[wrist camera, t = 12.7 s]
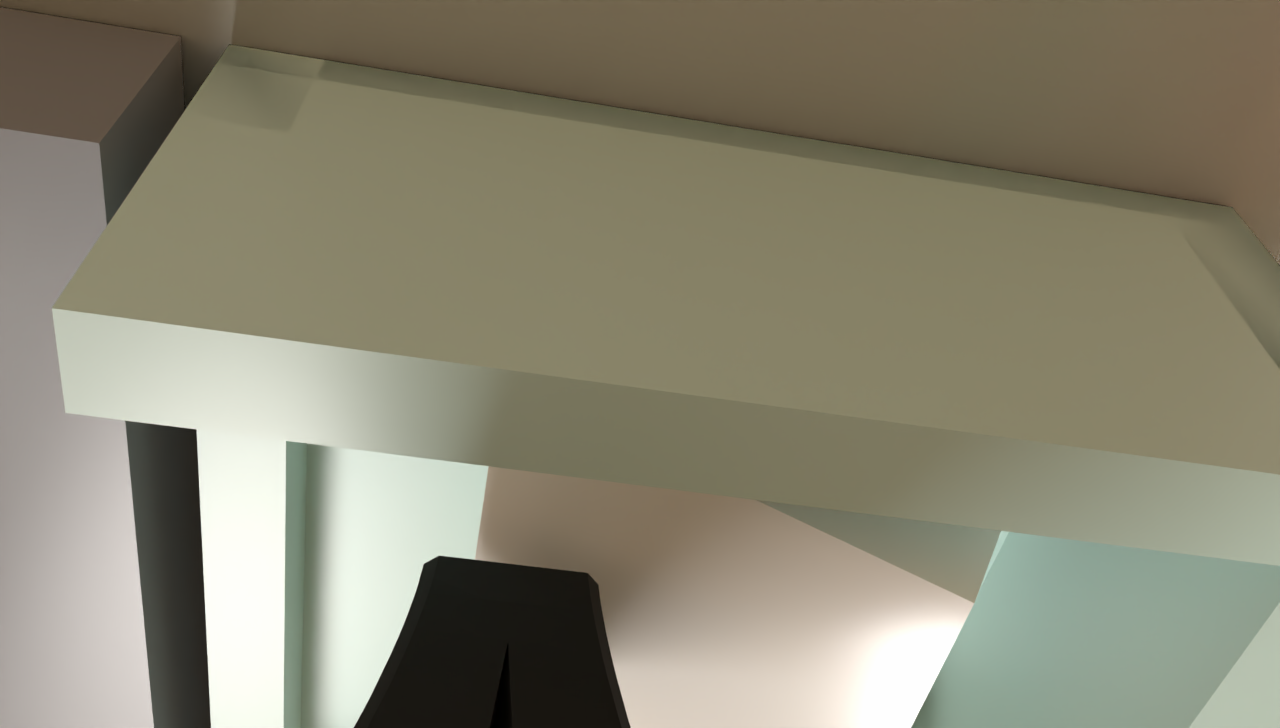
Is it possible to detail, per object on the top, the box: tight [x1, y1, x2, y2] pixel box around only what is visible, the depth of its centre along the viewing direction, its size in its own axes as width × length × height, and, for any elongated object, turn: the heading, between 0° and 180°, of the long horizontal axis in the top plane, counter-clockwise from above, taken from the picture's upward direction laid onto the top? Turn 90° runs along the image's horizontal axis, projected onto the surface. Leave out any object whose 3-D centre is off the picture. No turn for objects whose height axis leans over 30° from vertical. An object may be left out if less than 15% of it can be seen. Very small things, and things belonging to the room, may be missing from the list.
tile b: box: [475, 466, 1001, 728], centre depth 11 cm, size 4×4×2 cm
